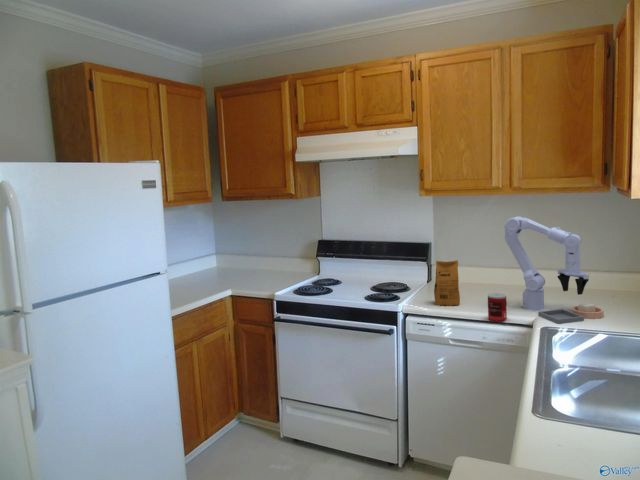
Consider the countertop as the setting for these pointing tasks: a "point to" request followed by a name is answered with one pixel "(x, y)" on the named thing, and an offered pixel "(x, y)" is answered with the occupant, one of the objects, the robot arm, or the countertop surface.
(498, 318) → the canned food
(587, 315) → the bowl
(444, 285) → the coffee package
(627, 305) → the countertop surface
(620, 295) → the countertop surface
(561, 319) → the parts tray
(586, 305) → the stone block
